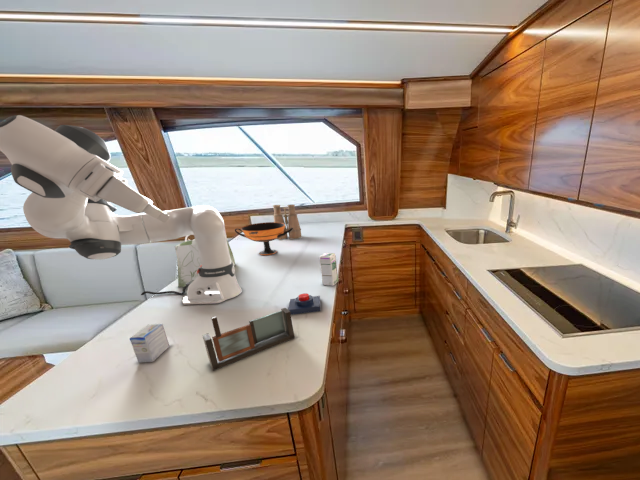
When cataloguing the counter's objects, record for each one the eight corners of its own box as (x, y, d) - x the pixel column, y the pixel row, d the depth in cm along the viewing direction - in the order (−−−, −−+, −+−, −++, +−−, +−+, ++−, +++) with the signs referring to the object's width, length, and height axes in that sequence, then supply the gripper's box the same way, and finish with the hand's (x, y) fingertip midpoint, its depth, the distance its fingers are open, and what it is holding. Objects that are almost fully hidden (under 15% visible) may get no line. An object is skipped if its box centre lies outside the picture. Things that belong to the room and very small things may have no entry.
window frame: (213, 370, 85) (205, 340, 81) (210, 364, 87) (202, 335, 84) (294, 338, 100) (290, 311, 96) (289, 333, 102) (285, 307, 99)
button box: (288, 315, 114) (287, 305, 113) (290, 303, 124) (289, 295, 122) (320, 311, 117) (319, 302, 116) (320, 300, 126) (319, 291, 125)
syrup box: (333, 285, 141) (330, 256, 136) (322, 285, 142) (319, 256, 137) (338, 281, 146) (335, 253, 141) (327, 280, 147) (324, 252, 142)
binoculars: (303, 235, 236) (299, 203, 227) (300, 238, 226) (295, 205, 218) (277, 236, 235) (272, 204, 226) (272, 239, 225) (267, 206, 217)
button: (298, 302, 117) (298, 298, 116) (299, 297, 121) (298, 294, 120) (309, 300, 118) (308, 296, 117) (309, 296, 121) (308, 292, 121)
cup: (301, 247, 205) (298, 221, 199) (288, 258, 181) (284, 230, 175) (249, 247, 205) (245, 222, 199) (230, 259, 181) (223, 231, 175)
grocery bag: (212, 264, 172) (202, 225, 164) (236, 264, 173) (228, 224, 165) (176, 287, 142) (163, 240, 134) (207, 285, 143) (195, 239, 135)
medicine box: (156, 347, 96) (148, 323, 93) (170, 346, 96) (163, 323, 93) (137, 363, 88) (128, 338, 85) (153, 362, 89) (144, 337, 86)
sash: (219, 362, 85) (207, 320, 81) (218, 360, 86) (207, 318, 82) (255, 347, 92) (247, 308, 87) (254, 346, 92) (245, 306, 88)
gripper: (99, 194, 74) (160, 227, 82) (79, 190, 58) (158, 232, 66) (117, 174, 75) (175, 208, 83) (102, 165, 59) (176, 209, 67)
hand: (167, 219), depth 74 cm, fingers open, 8 cm apart
